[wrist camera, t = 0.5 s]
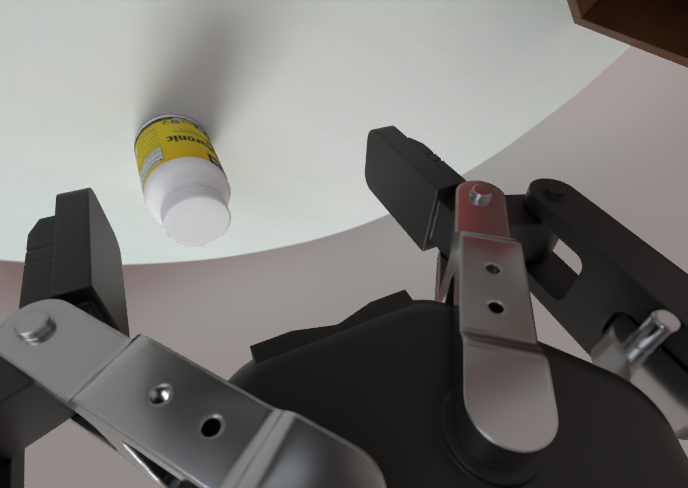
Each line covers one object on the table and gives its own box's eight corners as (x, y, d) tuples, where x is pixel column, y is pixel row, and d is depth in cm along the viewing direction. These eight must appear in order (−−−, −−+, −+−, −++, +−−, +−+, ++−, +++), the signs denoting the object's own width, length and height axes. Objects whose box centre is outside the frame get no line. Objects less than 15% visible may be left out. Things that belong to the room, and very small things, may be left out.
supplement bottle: (223, 136, 32) (259, 209, 26) (184, 185, 34) (209, 266, 27) (159, 96, 28) (184, 172, 22) (118, 154, 30) (130, 241, 23)
